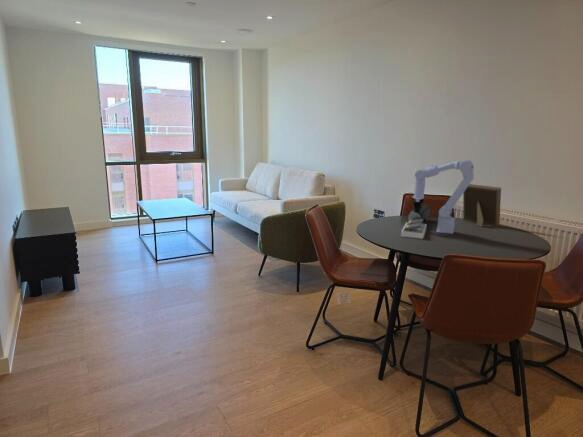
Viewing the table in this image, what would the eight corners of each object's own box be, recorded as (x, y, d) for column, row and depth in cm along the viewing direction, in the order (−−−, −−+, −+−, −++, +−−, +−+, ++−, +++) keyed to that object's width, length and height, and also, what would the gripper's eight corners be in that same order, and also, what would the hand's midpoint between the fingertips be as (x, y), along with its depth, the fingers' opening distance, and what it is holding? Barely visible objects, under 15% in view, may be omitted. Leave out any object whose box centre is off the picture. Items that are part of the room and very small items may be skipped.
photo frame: (466, 219, 272) (470, 183, 266) (499, 225, 256) (504, 186, 250) (456, 222, 262) (460, 184, 256) (489, 228, 246) (495, 188, 241)
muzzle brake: (430, 219, 269) (431, 204, 267) (421, 228, 245) (422, 211, 243) (415, 218, 273) (417, 203, 271) (405, 226, 250) (407, 210, 247)
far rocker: (423, 220, 240) (422, 218, 240) (421, 224, 232) (421, 221, 232) (409, 222, 243) (409, 220, 243) (407, 226, 235) (407, 223, 235)
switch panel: (426, 229, 242) (426, 222, 241) (422, 238, 220) (423, 231, 219) (405, 227, 246) (406, 220, 246) (400, 236, 225) (401, 229, 224)
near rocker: (421, 224, 229) (420, 222, 229) (419, 228, 221) (419, 225, 221) (407, 227, 233) (406, 224, 233) (405, 230, 225) (404, 228, 224)
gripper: (413, 187, 247) (412, 208, 250) (411, 190, 234) (409, 213, 237) (425, 188, 245) (423, 209, 248) (423, 191, 232) (421, 214, 235)
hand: (417, 211), depth 242 cm, fingers open, 7 cm apart
